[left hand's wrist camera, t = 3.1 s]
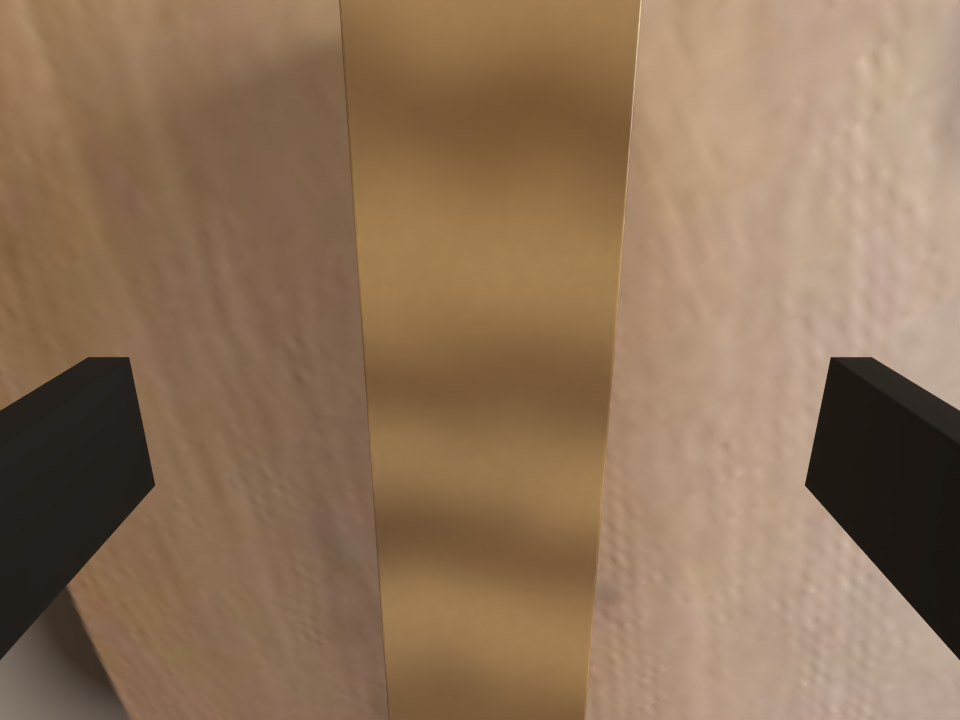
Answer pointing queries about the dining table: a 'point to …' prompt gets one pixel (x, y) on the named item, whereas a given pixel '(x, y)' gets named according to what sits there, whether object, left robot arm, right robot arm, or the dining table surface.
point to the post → (488, 334)
